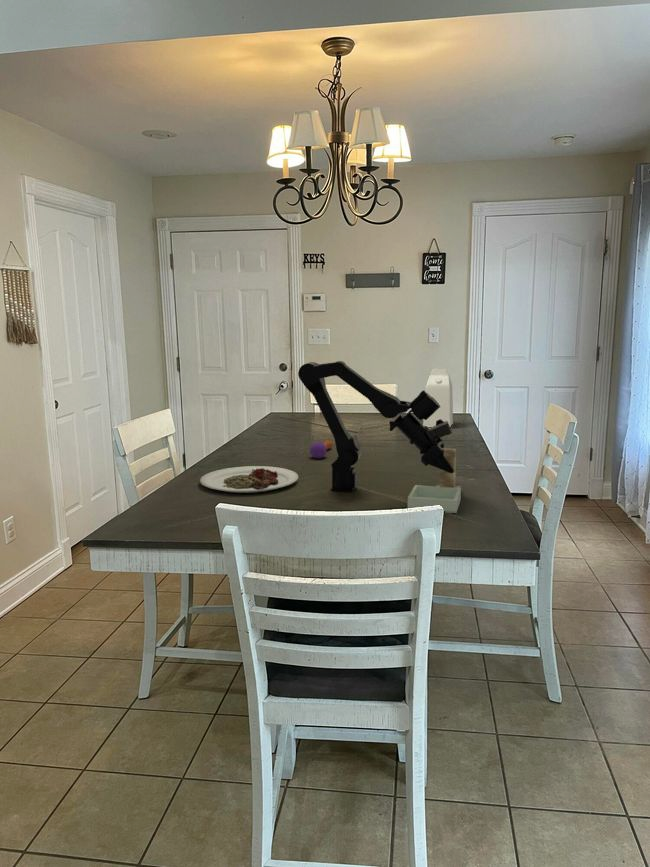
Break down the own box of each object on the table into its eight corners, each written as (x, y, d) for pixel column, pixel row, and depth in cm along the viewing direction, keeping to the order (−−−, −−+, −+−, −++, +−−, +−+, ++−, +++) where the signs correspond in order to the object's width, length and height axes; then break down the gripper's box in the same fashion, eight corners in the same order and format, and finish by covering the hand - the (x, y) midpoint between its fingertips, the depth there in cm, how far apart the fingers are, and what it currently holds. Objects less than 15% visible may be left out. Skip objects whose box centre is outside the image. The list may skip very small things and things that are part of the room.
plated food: (186, 495, 189) (185, 483, 188) (217, 470, 218) (216, 460, 217) (288, 498, 185) (288, 486, 184) (305, 472, 214) (305, 462, 213)
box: (407, 510, 171) (407, 497, 171) (414, 497, 183) (415, 485, 183) (456, 513, 168) (456, 500, 167) (460, 500, 180) (460, 488, 179)
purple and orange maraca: (337, 438, 250) (326, 445, 230) (334, 454, 250) (322, 461, 231) (322, 435, 251) (309, 441, 231) (319, 450, 252) (306, 457, 232)
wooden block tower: (433, 494, 185) (434, 451, 183) (436, 488, 192) (437, 446, 189) (458, 496, 183) (459, 453, 181) (460, 490, 190) (462, 448, 187)
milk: (452, 424, 300) (454, 368, 295) (449, 429, 289) (451, 370, 284) (426, 423, 304) (427, 367, 299) (422, 427, 293) (423, 370, 288)
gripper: (434, 417, 175) (475, 458, 175) (435, 407, 193) (472, 444, 193) (404, 444, 178) (444, 485, 178) (408, 432, 196) (445, 469, 196)
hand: (452, 470), depth 186 cm, fingers closed on wooden block tower, 4 cm apart
